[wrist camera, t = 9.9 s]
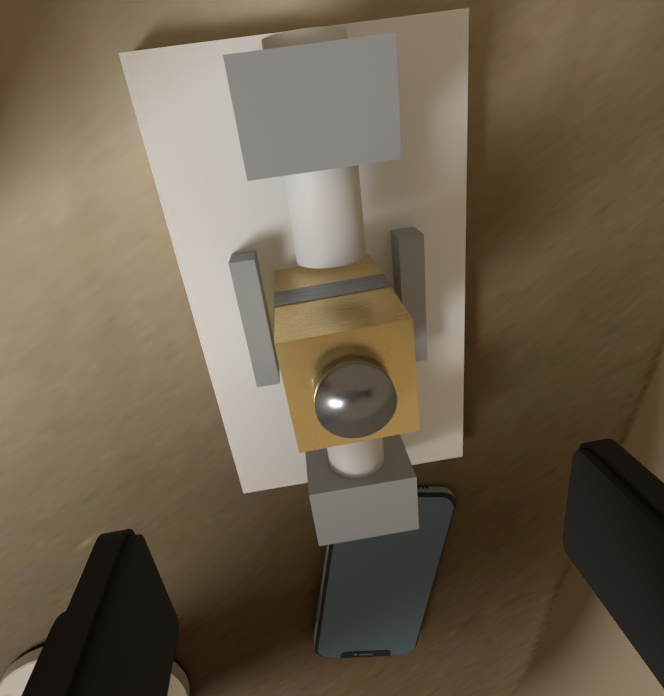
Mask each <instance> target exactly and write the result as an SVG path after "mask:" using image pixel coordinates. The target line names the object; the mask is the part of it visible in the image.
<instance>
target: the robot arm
mask: <svg viewBox="0 0 664 696" xmlns="http://www.w3.org/2000/svg"><path fill="white" fill-rule="evenodd" d="M563 545H564V548H565V551H566V553H567V555H568V556H569V558H570V559H571V560H572V562H573V563H574V565H575V566H576V567H577V569H578V570H579V572H580V573H581V574H582V576H583V577H584V578H585V580H586V581H587V583H588V584H589V585H590V587H591V588H592V590H593V591H594V592H595V594H596V595H597V597H598V598H599V599H600V601H601V602H602V603H603V605H604V606H605V608H606V609H607V610H608V612H609V613H610V615H611V616H612V617H613V619H614V620H615V621H616V623H617V624H618V626H619V627H620V628H621V630H622V631H623V633H624V634H625V635H626V637H627V638H628V639H629V641H630V642H631V644H632V645H633V646H634V648H635V649H636V651H637V652H638V653H639V655H640V656H641V658H642V659H643V660H644V662H645V663H646V664H647V666H648V667H649V669H650V670H651V671H652V673H653V674H654V675H655V677H656V678H657V680H658V681H659V683H660V684H661V685H662V687H663V688H664V483H663V482H662V481H660V480H659V479H658V478H657V477H656V476H655V475H653V474H652V473H651V472H650V471H649V470H648V469H646V468H645V467H644V466H643V465H642V464H641V463H640V462H638V461H637V460H636V459H635V458H634V457H633V456H632V455H630V454H629V453H628V452H627V451H626V450H625V449H624V448H622V447H621V446H620V445H619V444H618V443H617V442H615V441H614V440H612V439H602V440H597V441H592V442H587V443H582V444H581V445H580V447H579V450H578V451H576V452H575V453H574V455H573V460H572V468H571V475H570V483H569V491H568V499H567V507H566V515H565V522H564V530H563ZM177 639H178V618H177V615H176V613H175V610H174V608H173V606H172V603H171V601H170V598H169V596H168V594H167V591H166V589H165V586H164V584H163V582H162V579H161V577H160V575H159V572H158V570H157V567H156V565H155V563H154V560H153V558H152V555H151V553H150V551H149V548H148V546H147V543H146V541H145V539H144V537H143V535H141V534H139V535H135V533H134V531H133V530H131V529H126V530H121V531H115V532H110V533H105V534H101V535H100V536H99V537H98V539H97V540H96V543H95V545H94V547H93V550H92V552H91V554H90V557H89V559H88V561H87V564H86V566H85V568H84V571H83V573H82V575H81V578H80V580H79V582H78V585H77V587H76V589H75V592H74V594H73V596H72V599H71V601H70V604H69V606H68V608H67V611H65V612H63V613H62V614H61V615H60V616H59V617H58V618H57V619H56V621H55V622H54V624H53V626H52V628H51V630H50V632H49V634H48V637H47V639H46V641H45V643H44V646H43V647H40V648H38V649H36V650H33V651H31V652H29V653H27V654H25V655H24V656H22V657H21V658H19V659H18V660H16V661H15V662H14V663H13V664H12V665H11V666H10V667H9V668H8V669H7V670H6V672H5V673H4V675H3V677H2V679H1V681H0V696H189V694H190V687H189V681H188V679H187V677H186V674H185V672H184V671H183V670H182V669H181V668H180V667H179V666H178V664H177V663H176V662H174V655H175V650H176V644H177Z"/></svg>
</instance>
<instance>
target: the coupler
mask: <svg viewBox="0 0 664 696" xmlns="http://www.w3.org/2000/svg"><path fill="white" fill-rule="evenodd" d="M274 310H275V329H274V345H275V349H276V353H277V358H278V362H279V367H280V371H281V375H282V380H283V384H284V389H285V393H286V397H287V402H288V406H289V411H290V415H291V419H292V424H293V428H294V433H295V437H296V441H297V446H298V450H299V453H301V452H307V451H312V450H318V449H323V448H328V447H334V446H339V445H345V444H350V443H356V442H361V441H366V440H372V439H377V438H383V437H388V436H393V435H399V434H404V433H410V432H415V431H420V418H419V403H418V388H417V373H416V358H415V343H414V328H413V319H412V317H411V316H410V314H409V313H408V311H407V310H406V308H405V307H404V305H403V304H402V302H401V301H400V299H399V298H398V296H397V295H396V293H395V292H394V290H393V289H392V285H391V284H390V282H389V281H388V279H387V278H386V276H385V275H384V274H382V273H381V271H380V270H379V268H378V267H377V265H376V264H375V262H374V261H373V259H372V258H371V256H370V255H369V254H367V255H366V256H365V257H364V258H363V259H361V260H359V261H357V262H355V263H352V264H349V265H345V266H340V267H334V268H322V269H315V268H306V267H302V266H297V267H291V268H286V269H280V270H275V292H274Z"/></svg>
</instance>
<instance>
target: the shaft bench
mask: <svg viewBox="0 0 664 696" xmlns="http://www.w3.org/2000/svg"><path fill="white" fill-rule="evenodd" d="M468 48H469V8H463V9H455V10H447V11H439V12H432V13H424V14H416V15H408V16H401V17H393V18H385V19H377V20H370V21H362V22H354V23H346V24H339V25H331V26H321V27H310V28H302V29H296V30H290V31H284V32H277V33H269V34H261V35H253V36H246V37H238V38H230V39H222V40H215V41H207V42H199V43H191V44H184V45H176V46H168V47H160V48H153V49H145V50H137V51H129V52H122V53H118V54H119V57H120V61H121V64H122V68H123V71H124V75H125V78H126V82H127V85H128V89H129V93H130V96H131V100H132V103H133V107H134V110H135V114H136V117H137V121H138V124H139V128H140V131H141V135H142V138H143V142H144V145H145V149H146V152H147V156H148V159H149V163H150V166H151V170H152V173H153V177H154V180H155V184H156V187H157V191H158V194H159V198H160V201H161V205H162V208H163V212H164V216H165V219H166V223H167V226H168V230H169V233H170V237H171V240H172V244H173V247H174V251H175V254H176V258H177V261H178V265H179V268H180V272H181V275H182V279H183V282H184V286H185V289H186V293H187V296H188V300H189V303H190V307H191V310H192V314H193V317H194V321H195V324H196V328H197V331H198V335H199V339H200V342H201V346H202V349H203V353H204V356H205V360H206V363H207V367H208V370H209V374H210V377H211V381H212V384H213V388H214V391H215V395H216V398H217V402H218V405H219V409H220V412H221V416H222V419H223V423H224V426H225V430H226V433H227V437H228V440H229V444H230V447H231V451H232V454H233V458H234V462H235V465H236V469H237V472H238V476H239V479H240V483H241V486H242V490H243V493H249V492H255V491H261V490H267V489H273V488H279V487H285V486H291V485H296V484H302V483H308V490H309V498H310V503H311V509H312V514H313V519H314V524H315V529H316V534H317V539H318V544H319V546H324V545H330V544H336V543H341V542H347V541H353V540H358V539H364V538H370V537H376V536H381V535H387V534H393V533H398V532H404V531H410V530H416V529H419V517H418V496H417V477H416V474H415V472H414V469H413V466H412V465H415V464H421V463H427V462H433V461H438V460H444V459H450V458H456V457H462V456H463V398H464V328H465V258H466V188H467V118H468ZM367 254H369V255H370V256H371V258H372V259H373V261H374V262H375V264H376V265H377V267H378V268H379V270H380V271H381V273H382V274H384V275H385V276H386V278H387V279H388V281H389V282H390V284H391V285H392V289H393V290H394V292H395V293H396V295H397V296H398V298H399V299H400V301H401V302H402V304H403V305H404V307H405V308H406V310H407V311H408V313H409V314H410V316H411V317H412V319H413V328H414V343H415V358H416V373H417V388H418V403H419V418H420V431H415V432H410V433H404V434H399V435H393V436H388V437H383V438H377V439H372V440H366V441H361V442H356V443H350V444H345V445H339V446H334V447H328V448H323V449H318V450H312V451H307V452H301V453H299V450H298V446H297V441H296V437H295V433H294V428H293V424H292V419H291V415H290V411H289V406H288V402H287V397H286V393H285V389H284V384H283V380H282V375H281V371H280V367H279V362H278V358H277V353H276V349H275V345H274V329H275V310H274V292H275V270H280V269H286V268H291V267H297V266H302V267H306V268H315V269H322V268H334V267H340V266H345V265H349V264H352V263H355V262H357V261H359V260H361V259H363V258H364V257H365V256H366V255H367Z"/></svg>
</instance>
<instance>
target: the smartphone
mask: <svg viewBox="0 0 664 696" xmlns="http://www.w3.org/2000/svg"><path fill="white" fill-rule="evenodd" d="M417 496H418V517H419V529H416V530H410V531H404V532H398V533H393V534H387V535H381V536H376V537H370V538H364V539H358V540H353V541H347V542H341V543H336V544H330V545H327V549H326V555H325V562H324V569H323V575H322V582H321V589H320V593H319V597H318V604H317V611H316V618H315V620H316V624H315V632H314V647H315V652H316V653H317V654H318V655H320V656H322V657H326V658H338V657H341V658H350V657H373V656H390V655H403V654H406V653H408V652H410V651H411V650H413V649H414V648H415V646H416V645H417V642H418V638H419V635H420V631H421V627H422V624H423V620H424V617H425V613H426V610H427V606H428V603H429V599H430V596H431V592H432V588H433V585H434V581H435V578H436V574H437V571H438V567H439V564H440V560H441V557H442V553H443V549H444V546H445V542H446V539H447V535H448V532H449V528H450V525H451V521H452V518H453V514H454V510H455V507H456V499H455V497H454V495H453V493H452V492H451V490H450V489H448V488H446V487H437V486H417Z"/></svg>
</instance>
